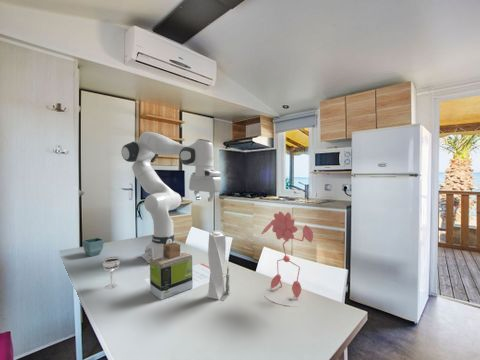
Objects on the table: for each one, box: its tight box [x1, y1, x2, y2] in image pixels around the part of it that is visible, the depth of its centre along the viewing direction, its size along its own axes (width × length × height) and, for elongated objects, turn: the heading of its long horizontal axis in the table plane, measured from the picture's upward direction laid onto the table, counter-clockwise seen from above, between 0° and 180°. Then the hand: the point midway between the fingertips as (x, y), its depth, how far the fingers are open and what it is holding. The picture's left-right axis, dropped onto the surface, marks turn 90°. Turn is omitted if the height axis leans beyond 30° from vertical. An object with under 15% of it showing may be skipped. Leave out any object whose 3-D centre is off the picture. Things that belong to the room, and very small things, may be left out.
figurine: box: [261, 211, 314, 307], centre depth 100 cm, size 15×26×35 cm, turn 45°
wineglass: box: [102, 256, 121, 290], centre depth 106 cm, size 7×7×12 cm
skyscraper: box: [207, 230, 231, 302], centre depth 99 cm, size 8×8×28 cm
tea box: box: [149, 250, 194, 301], centre depth 104 cm, size 15×10×15 cm, turn 135°
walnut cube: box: [163, 241, 181, 259], centre depth 103 cm, size 5×5×5 cm
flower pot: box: [82, 237, 105, 257], centre depth 147 cm, size 9×9×9 cm
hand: (203, 200), depth 119 cm, fingers open, 8 cm apart
